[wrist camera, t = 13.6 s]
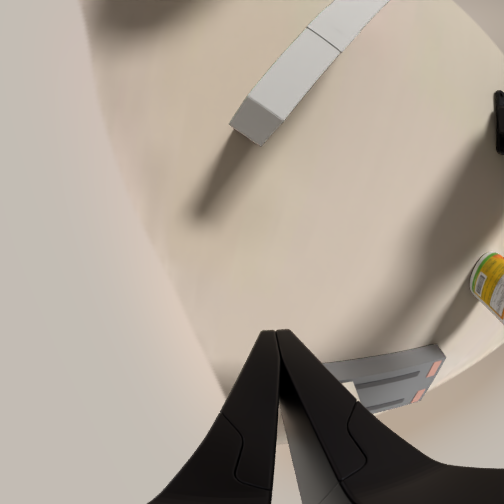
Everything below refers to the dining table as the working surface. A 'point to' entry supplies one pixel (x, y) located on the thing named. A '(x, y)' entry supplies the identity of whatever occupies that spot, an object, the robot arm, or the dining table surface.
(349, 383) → the block
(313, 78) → the light switch
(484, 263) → the supplement bottle
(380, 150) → the dining table surface
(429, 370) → the panel
